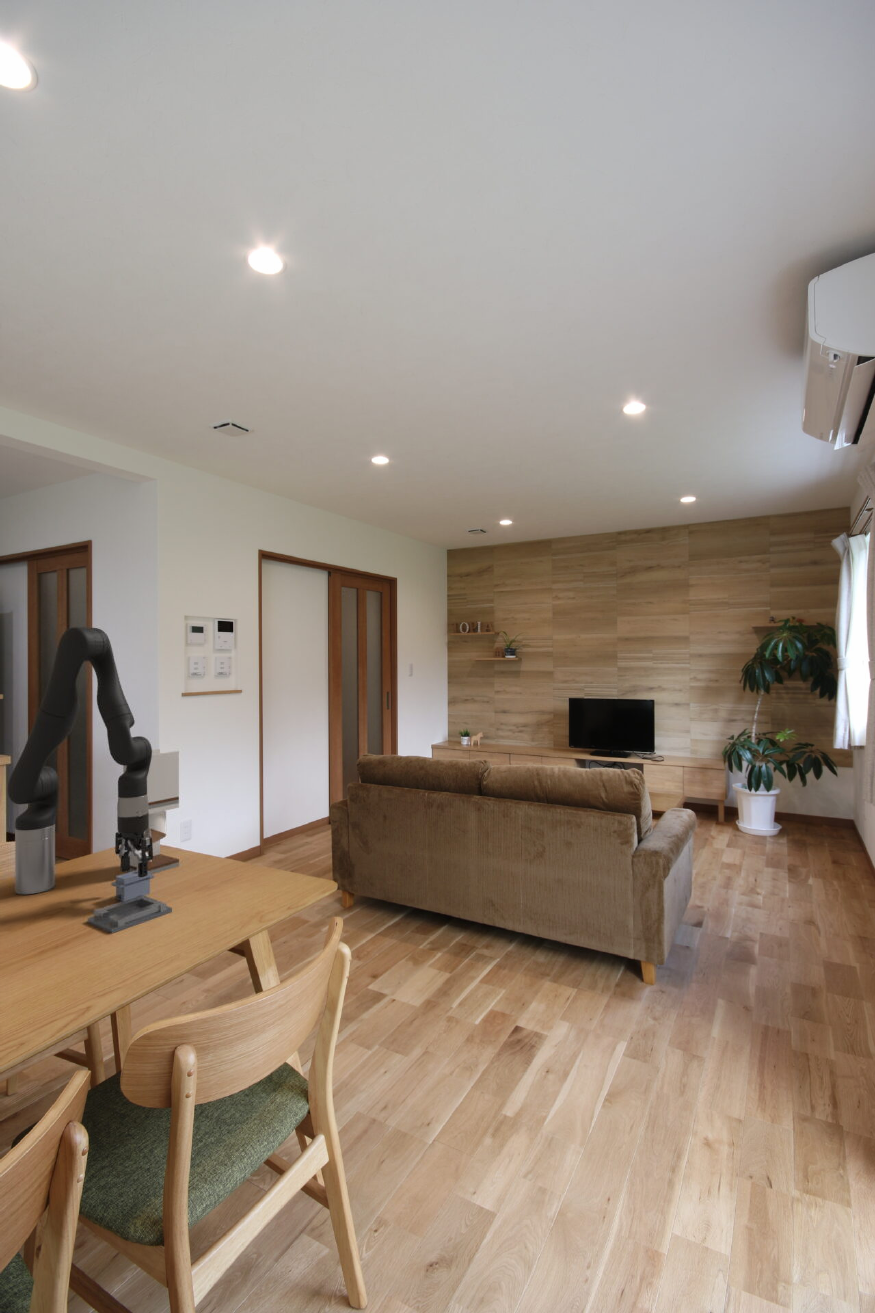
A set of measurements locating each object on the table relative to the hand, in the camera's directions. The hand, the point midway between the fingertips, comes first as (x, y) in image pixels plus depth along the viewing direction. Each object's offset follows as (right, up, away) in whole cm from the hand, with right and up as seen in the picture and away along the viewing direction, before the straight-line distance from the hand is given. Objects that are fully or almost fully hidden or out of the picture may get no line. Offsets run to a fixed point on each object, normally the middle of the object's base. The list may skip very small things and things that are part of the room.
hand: (134, 873), depth 167 cm
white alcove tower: (-6, -7, +24) cm, 25 cm away
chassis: (+6, -6, -14) cm, 16 cm away
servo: (0, -6, 0) cm, 6 cm away
